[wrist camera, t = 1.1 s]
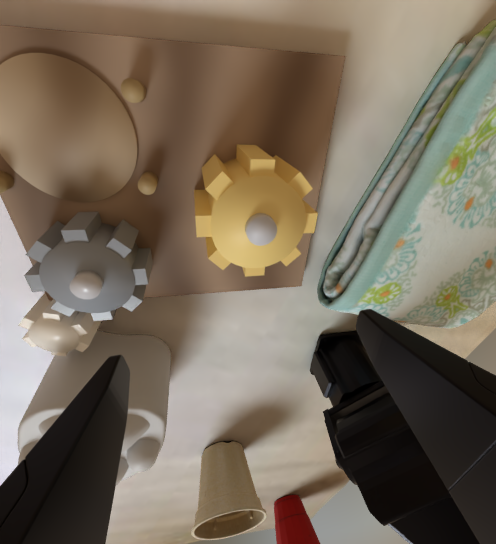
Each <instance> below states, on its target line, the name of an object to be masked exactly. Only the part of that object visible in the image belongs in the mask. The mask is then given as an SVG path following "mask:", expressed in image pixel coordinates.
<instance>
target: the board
mask: <svg viewBox="0 0 496 544" xmlns="http://www.w3.org/2000/svg"><path fill="white" fill-rule="evenodd" d="M344 62H345V56H337V55H326V54H315V53H304V52H293V51H282V50H270V49H259V48H248V47H237V46H226V45H215V44H204V43H193V42H182V41H171V40H160V39H149V38H138V37H127V36H116V35H105V34H94V33H83V32H72V31H61V30H50V29H39V28H28V27H17V26H6V25H0V195H1V198H2V200H3V202H4V204H5V206H6V208H7V211H8V213H9V215H10V217H11V219H12V221H13V224H14V226H15V228H16V230H17V232H18V234H19V237H20V239H21V241H22V243H23V245H24V248H25V250H26V252H27V253H28V251H29V250H30V249H31V247H32V246H33V245H34V244H35V242H36V241H37V240H38V239H39V238H40V237H41V236H42V235H43V234H44V233H45V232H46V231H47V230H48V229H49V228H51V227H52V226H53V225H54V224H55V223H56V222H57V221H59V222H60V223H62V224H63V225H66V224H67V223H68V222H69V221H70V220H71V219H72V218H73V217H74V216H75V215H76V214H77V213H78V212H99V214H100V218H101V222H102V223H105V224H109V225H112V226H114V227H117V226H118V224H119V223H120V222H121V221H122V220H125V221H126V222H128V223H129V224H130V225H132V226H133V227H134V228H136V229H137V230H139V232H138V235H137V237H136V240H135V243H136V244H137V246H138V248H151V254H152V260H153V264H152V269H151V273H150V278H149V283H148V284H146V289H145V293H144V298H148V297H161V296H175V295H188V294H202V293H215V292H229V291H242V290H256V289H269V288H283V287H296V286H301V285H302V280H303V275H304V270H305V264H306V259H307V254H308V249H309V244H310V238H311V233H303V236H302V238H301V240H300V242H299V243H298V245H297V246H296V247H297V248H298V250H299V251H300V252H301V255H299V256H298V257H297V258H296V259H295V260H293V261H292V262H291V263H290V264H289V265H287V266H285V265H284V264H283V263H282V262H281V261H279V262H277V263H275V264H273V265H270V266H267V267H265V273H264V275H262V276H246V277H245V275H244V271H243V268H242V267H241V266H238V265H235V264H233V263H230V264H229V265H228V266H227V267H226V268H225V269H224V270H222V269H221V268H219V267H218V266H217V265H216V264H214V263H213V262H212V261H210V260H209V259H208V255H207V246H206V238H205V237H197V235H196V219H195V201H194V190H205V186H204V180H203V174H202V167H203V166H204V165H205V164H206V163H207V162H208V161H209V159H210V158H211V157H212V156H213V155H214V154H215V155H216V156H217V157H218V158H219V159H220V160H221V161H222V162H223V163H226V162H228V161H230V160H233V159H236V149H237V145H256V146H258V147H259V148H260V149H262V150H263V151H264V152H266V153H267V154H268V155H270V156H271V157H274V156H275V155H276V156H278V157H279V158H281V159H282V160H284V161H285V162H287V163H288V164H290V165H291V166H293V167H294V168H295V169H297V170H298V171H300V172H301V173H302V175H303V176H304V177H305V179H306V180H307V181H308V183H309V184H310V185H311V187H312V188H313V189H312V190H311V191H310V192H309V193H308V194H307V195H306V196H304V197H303V198H302V199H303V200H304V201H305V202H306V203H307V204H309V205H310V206H311V207H312V208H313V209H314V210H315V211H316V207H317V202H318V197H319V192H320V186H321V181H322V176H323V171H324V166H325V160H326V155H327V150H328V145H329V140H330V134H331V129H332V124H333V119H334V114H335V108H336V103H337V98H338V93H339V88H340V82H341V77H342V72H343V67H344ZM29 258H30V261H31V263H32V265H34V264H35V263H36V262H37V261H36V260H34V259H32V258H31V257H29ZM45 293H46V295H47V297H48V300H50V301H52V300H53V298H52V297H51V296H50V295H49V294H48V293H47V291H45Z"/></svg>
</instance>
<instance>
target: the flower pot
mask: <svg viewBox="0 0 496 544" xmlns="http://www.w3.org/2000/svg"><path fill="white" fill-rule="evenodd" d="M266 517H267V514H266V511H265V510H264V509H263V508H262V505H261V502H260V499H259V498H258V497H257V494H256V491H255V488H254V484H253V481H252V478H251V474H250V471H249V467H248V464H247V460H246V457H245V453H244V450H243V447H242V445H241V444H239V443H238V442H234V441H231V442H230V443H225V442H219V443H216V444H213V445H211V446H209V447H208V448H206V449H205V450H204V452H203V455H202V461H201V475H200V489H199V501H198V511H197V512H196V515H195V525H194V526H193V528H192V532H191V534H192V536H193V537H195V538H197V539H201V540H216V539H223V538H228V537H232V536H235V535H239V534H241V533H244V532H247V531H249V530H251V529H253V528H255V527H257V526H258V525H260V524H261V523H262V522H263V521H264V520H265V519H266Z"/></svg>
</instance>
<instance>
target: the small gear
mask: <svg viewBox="0 0 496 544" xmlns="http://www.w3.org/2000/svg"><path fill="white" fill-rule="evenodd" d="M54 302H55V299H53V300H52V301H50V300H48V297H47V295H46V293H44V295H43V296H42V297H41V298H40V299H39V300H38V302H37V303H36V304H35V305H34V306H33V308H32V309H31V310H30V311H29V312H28V313H27V315H26V316H25V317H24V318H23V320H22V321H21V322H20V324H19V326H21V327H23V328H26V329H28V332H27V333H26V335H25V336H24V337H23V338H22V339H23V340H24V341H26V342H27V343H28V344H29V345H30V346H31V347H35V346H38V347H40V348H42V349H45V350H47V351H51V354H52V355H58V356H67V354H68V352H69V351H72V350H74V349H76V350H78V351H80V352H84V350H85V349H86V348H87V347H88V346H89V345H90V343H91V341H92V339H93V337H94V335H95V333H96V331H97V329H98V327H99V325H100V324H101V322H102V320H101V321H93V318H92V315H91V313H86V312H80V311H76V310H75V311H74V312H73V313H72V315H71V316H70V317H69V316H66V315H64V314H62V313H60V312H58V311H56V310H53V309H51V307H52V305H53V303H54Z"/></svg>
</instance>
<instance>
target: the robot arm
mask: <svg viewBox="0 0 496 544" xmlns="http://www.w3.org/2000/svg"><path fill="white" fill-rule="evenodd" d="M356 329H357V331H353V332H344V333H335V334H326V335H321V336H320V337H319V339H318V342H317V346H316V350H315V352H314V355H313V359H312V362H311V368H310V372H311V374H312V375H315V378H316V380H317V382H318V384H319V387H320V389H321V391H322V393H323V395H324V397H326V398H328V397H329V399H330V401H331V403H332V405H333V407H332V408H331V409H329V410H328V409H327V410H325V411H323V413H324V417H325V423H326V427H327V430H328V433H329V437H330V440H331V444H332V447H333V450H334V454H335V459H336V463H337V465H338V467H339V468H341V469H343V470H344V472H345V473H346V475H347V476H348V478H349V479H350V480H351V481H352V482H353V483H354V484H355V485H358V487H359V489H360V491H361V493H362V496H363V498H364V500H365V503H366V505H367V507H368V510H369V511H370V513H371V514H372V515H373V516H374V517H375V518H376V519H377V520H378V521H379V522H380V523H381V524H383V525H384V526H385V525H387V524H388V525H389V526H390V527H391V528H392V529H393V530H395V531H396V532H397V533H398V534H399V535H400V536H401V537H402V538H404V539H405V540H406V541H407V542H408V543H409V544H496V375H494V374H492V373H490V372H488V371H486V370H484V369H482V368H480V367H478V366H476V365H474V364H473V363H471V362H468V361H467V360H465V359H463V358H461V357H460V356H458V355H456V354H454V353H452V352H450V351H448V350H447V349H445V348H443V347H441V346H439V345H437V344H435V343H433V342H432V341H430V340H428V339H426V338H424V337H422V336H420V335H419V334H417V333H415V332H413V331H411V330H409V329H407V328H406V327H404V326H402V325H400V324H398V323H396V322H394V321H393V320H391V319H389V318H387V317H385V316H383V315H381V314H379V313H378V312H376V311H374V310H372V309H365V310H361V311H360V312H359V315H358V319H357V323H356ZM129 386H130V369H129V367H128V365H127V363H126V361H125V359H124V357H123V355H120V354H119V355H114V356H110V357H108V358H107V359H106V361H105V362H104V363H103V364H102V365H101V367H100V368H99V369H98V370H97V371H96V373H95V374H94V375H93V376H92V377H91V379H90V380H89V381H88V382H87V383H86V385H85V386H84V387H83V388H82V389H81V391H80V392H79V393H78V394H77V395H76V397H75V398H74V399H73V400H72V401H71V403H70V404H69V405H68V406H67V407H66V409H65V410H64V411H63V412H62V413H61V415H60V416H59V417H58V418H57V419H56V421H55V422H54V423H53V424H52V425H51V426H50V428H49V429H48V430H47V431H46V432H45V434H44V435H43V436H42V437H41V438H40V440H39V441H38V442H37V443H36V444H35V446H34V447H33V448H32V449H31V450H30V452H29V453H28V454H27V455H26V456H25V459H23V460H22V461H21V462H20V463H19V465H18V466H17V467H16V468H15V469H14V471H13V472H12V473H11V474H10V475H9V476H8V478H7V479H6V480H5V481H4V482H3V483H2V485H1V486H0V544H105V542H106V536H107V531H108V525H109V520H110V514H111V508H112V503H113V497H114V491H115V486H116V480H117V474H118V469H119V463H120V457H121V452H122V446H123V440H124V435H125V429H126V423H127V416H128V402H129Z"/></svg>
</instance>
